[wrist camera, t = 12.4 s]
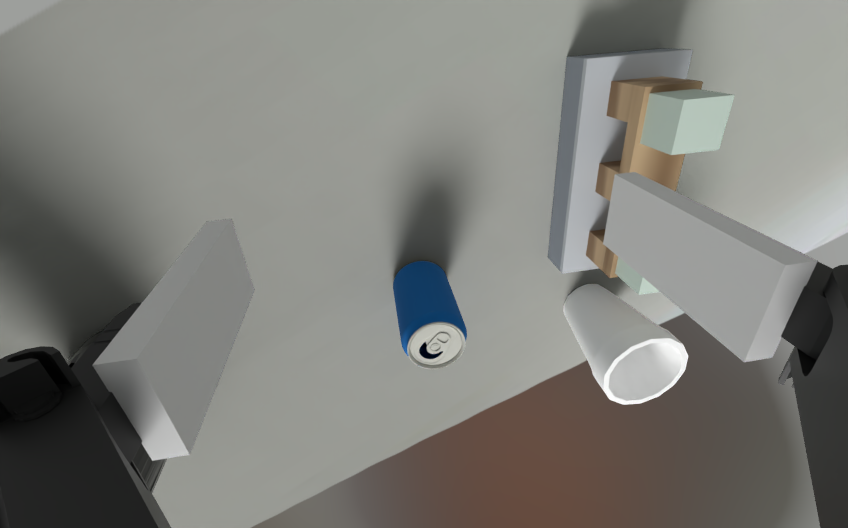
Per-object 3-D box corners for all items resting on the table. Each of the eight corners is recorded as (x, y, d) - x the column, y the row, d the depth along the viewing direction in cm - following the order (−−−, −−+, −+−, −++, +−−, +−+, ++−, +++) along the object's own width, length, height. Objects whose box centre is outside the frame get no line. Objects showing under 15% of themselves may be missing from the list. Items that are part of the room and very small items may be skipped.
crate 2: (639, 143, 35) (671, 155, 32) (649, 93, 33) (684, 99, 30) (683, 138, 35) (718, 149, 32) (695, 88, 33) (734, 95, 30)
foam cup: (628, 307, 56) (696, 375, 45) (569, 342, 58) (621, 416, 46) (604, 260, 52) (673, 322, 40) (540, 299, 53) (590, 370, 42)
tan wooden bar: (585, 255, 46) (609, 278, 42) (611, 81, 37) (645, 87, 33) (627, 249, 46) (655, 271, 42) (662, 76, 38) (702, 81, 33)
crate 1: (615, 273, 41) (638, 294, 38) (621, 237, 39) (647, 257, 36) (651, 268, 42) (678, 289, 38) (660, 232, 40) (689, 251, 36)
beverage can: (381, 287, 49) (388, 355, 38) (415, 247, 47) (432, 308, 37) (423, 312, 51) (440, 381, 41) (456, 275, 50) (483, 338, 39)
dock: (547, 257, 50) (562, 273, 47) (566, 56, 39) (587, 58, 36) (624, 246, 51) (644, 262, 48) (663, 48, 40) (693, 49, 37)
